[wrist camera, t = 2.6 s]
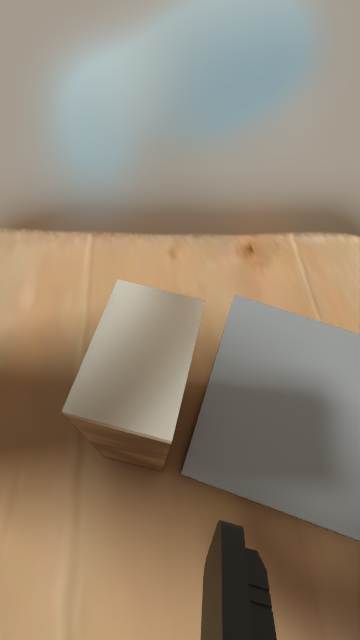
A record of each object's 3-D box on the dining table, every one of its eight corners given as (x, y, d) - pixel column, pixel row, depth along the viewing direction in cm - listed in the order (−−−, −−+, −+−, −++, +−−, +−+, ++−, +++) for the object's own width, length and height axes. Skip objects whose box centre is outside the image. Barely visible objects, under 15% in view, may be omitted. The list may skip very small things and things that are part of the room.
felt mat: (180, 474, 22) (181, 473, 21) (233, 298, 29) (235, 294, 28) (376, 547, 20) (382, 548, 20) (379, 345, 28) (383, 342, 27)
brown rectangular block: (103, 456, 22) (61, 411, 11) (131, 374, 25) (117, 279, 14) (161, 472, 22) (172, 441, 11) (182, 387, 25) (205, 300, 14)
